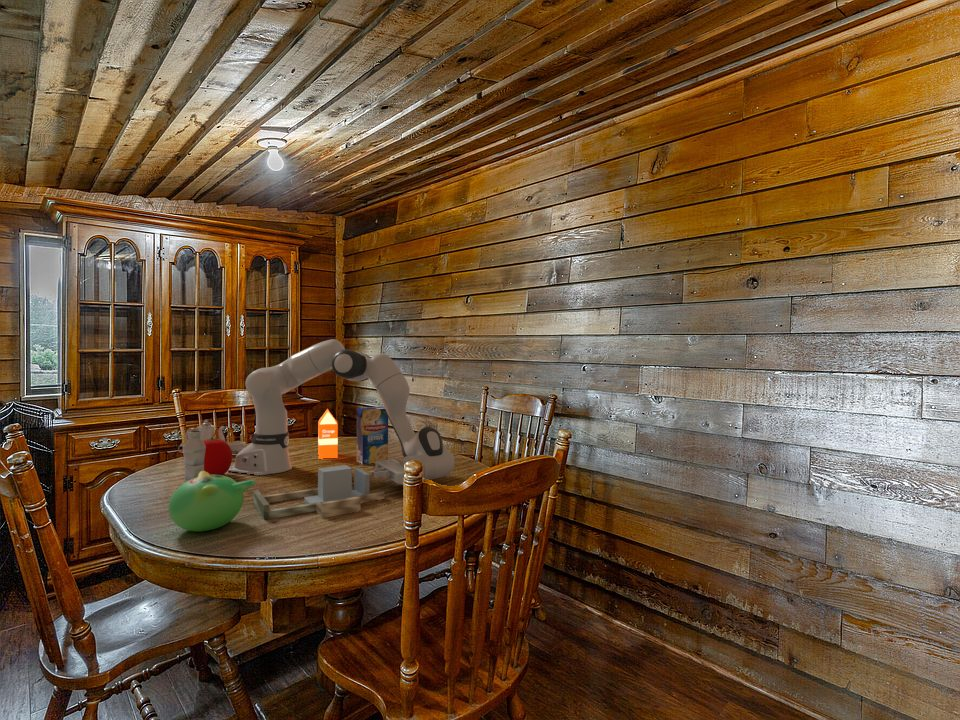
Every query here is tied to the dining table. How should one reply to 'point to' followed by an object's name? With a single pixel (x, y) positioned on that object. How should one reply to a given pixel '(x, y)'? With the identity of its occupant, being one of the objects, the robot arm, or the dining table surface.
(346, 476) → the bookend block
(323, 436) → the orange juice
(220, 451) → the tomato
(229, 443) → the chinaware
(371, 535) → the dining table surface
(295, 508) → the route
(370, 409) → the blue food box
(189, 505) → the toy bird
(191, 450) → the plastic bottle
